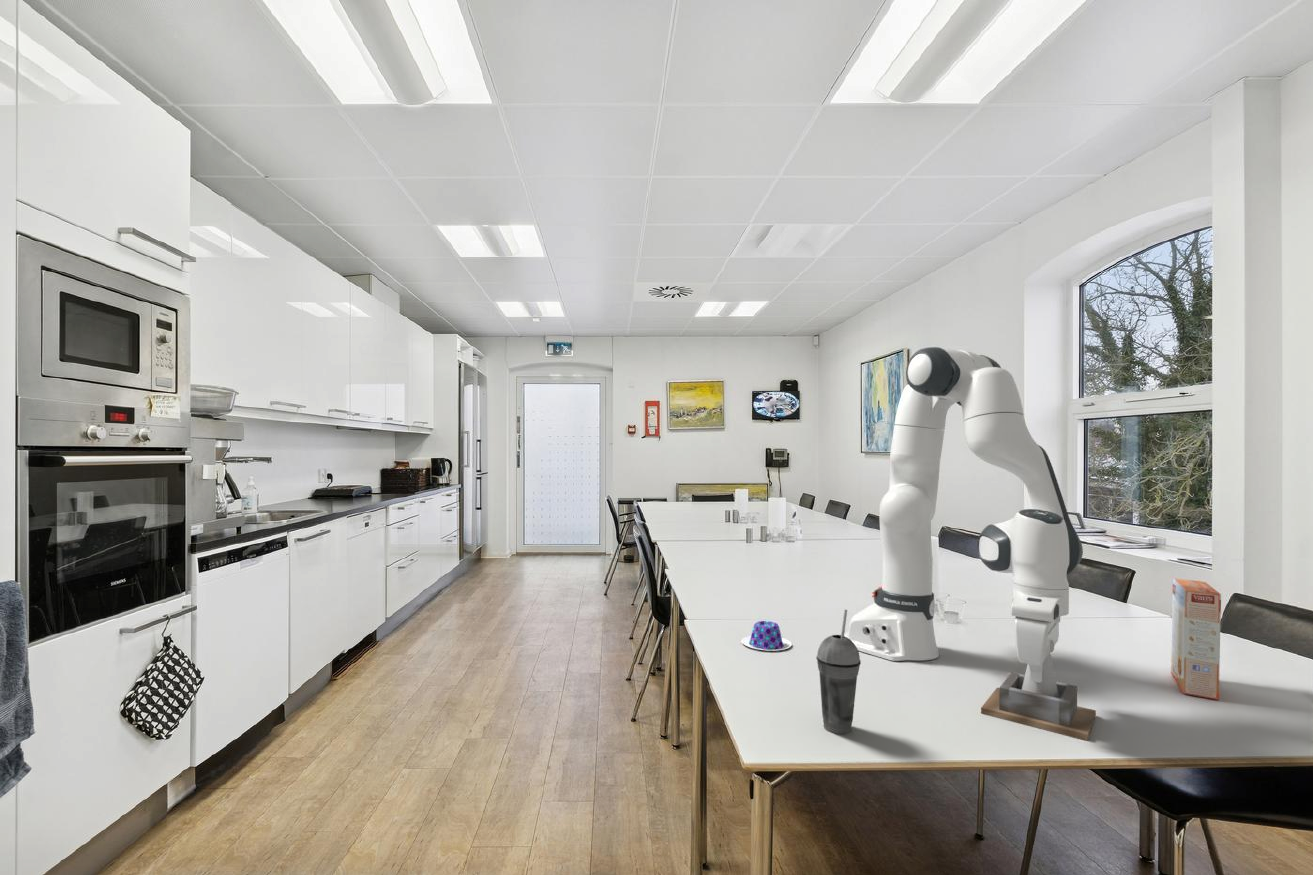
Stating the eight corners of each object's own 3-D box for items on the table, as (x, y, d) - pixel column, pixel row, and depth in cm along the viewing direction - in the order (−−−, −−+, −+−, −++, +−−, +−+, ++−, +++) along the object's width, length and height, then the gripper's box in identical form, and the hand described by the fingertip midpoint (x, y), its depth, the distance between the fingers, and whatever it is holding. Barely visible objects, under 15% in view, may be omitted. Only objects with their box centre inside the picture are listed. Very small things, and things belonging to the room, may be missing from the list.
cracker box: (1221, 701, 122) (1222, 593, 122) (1181, 694, 125) (1182, 588, 125) (1206, 679, 134) (1207, 580, 134) (1170, 673, 137) (1171, 577, 137)
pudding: (739, 637, 158) (739, 616, 158) (787, 638, 158) (787, 617, 158) (743, 652, 146) (743, 630, 146) (795, 654, 146) (796, 631, 146)
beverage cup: (809, 719, 110) (811, 604, 111) (849, 718, 111) (851, 604, 111) (823, 738, 103) (825, 615, 103) (867, 737, 104) (868, 615, 104)
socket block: (981, 713, 114) (981, 685, 114) (997, 692, 124) (997, 666, 124) (1087, 740, 104) (1088, 710, 104) (1095, 715, 114) (1096, 688, 114)
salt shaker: (1048, 703, 117) (1049, 632, 117) (1065, 716, 111) (1066, 642, 111) (1015, 701, 117) (1016, 631, 117) (1030, 714, 112) (1031, 641, 112)
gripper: (1030, 588, 124) (1029, 658, 124) (1008, 607, 109) (1007, 688, 108) (1068, 593, 120) (1067, 666, 120) (1051, 614, 105) (1050, 698, 104)
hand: (1039, 677), depth 114 cm, fingers closed on salt shaker, 4 cm apart
